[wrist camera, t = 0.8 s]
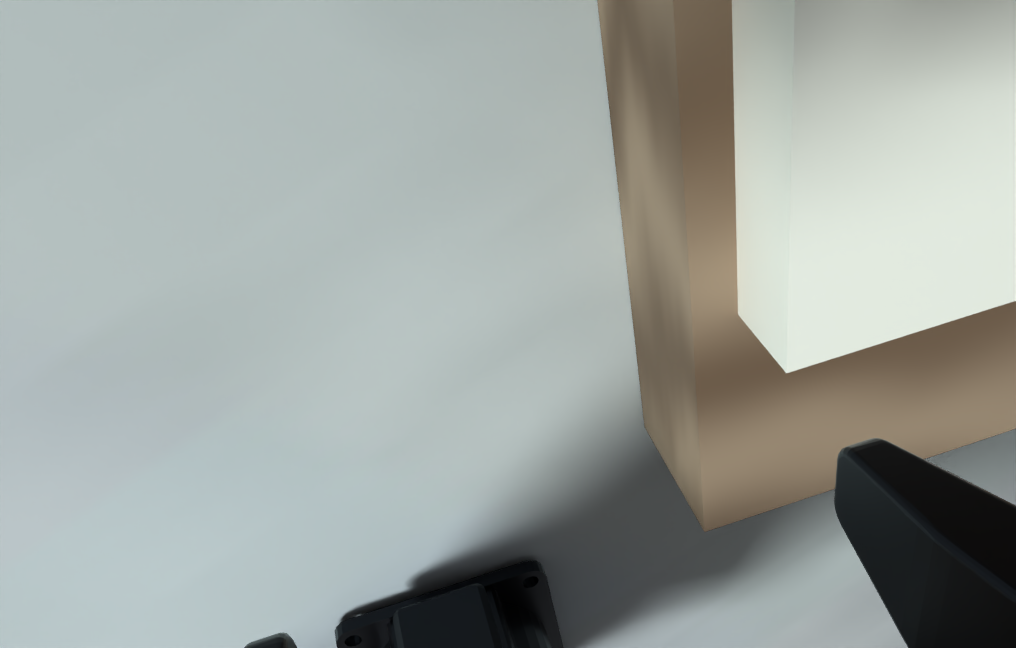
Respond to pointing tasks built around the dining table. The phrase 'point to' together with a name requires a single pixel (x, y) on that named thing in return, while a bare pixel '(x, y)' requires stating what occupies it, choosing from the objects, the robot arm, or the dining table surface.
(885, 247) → the white box
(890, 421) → the tan flat block
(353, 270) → the dining table surface
